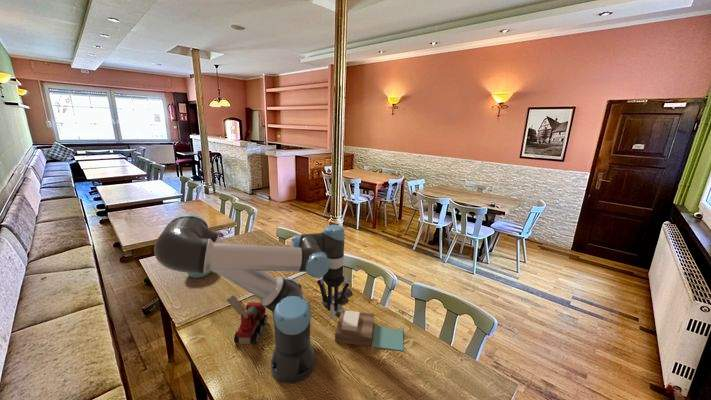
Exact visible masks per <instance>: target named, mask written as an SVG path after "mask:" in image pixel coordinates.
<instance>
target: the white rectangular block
mask: <svg viewBox="0 0 711 400" xmlns="http://www.w3.org/2000/svg"><path fill="white" fill-rule="evenodd" d="M344 311H345V314H344V318H343V322H342V328H341V329H344V330H351V331H357V327H358V322H359V316H360V312H359V311H353V310H344Z"/></svg>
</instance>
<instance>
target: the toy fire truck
mask: <svg viewBox="0 0 711 400" xmlns="http://www.w3.org/2000/svg"><path fill="white" fill-rule="evenodd" d="M226 302H228V303H229V305H230V306H231V308H232V309H233V310H234V311H235V313H236V314H237V315H238V316H240V325H239V328H238V329H237V331H235V334H234V337H233V342H234V344H240V345H252V344H256V345H257V344H258V343H259V341H260V336H262V334H263V331H264V326H266V325H268V324H267V323H268V315H267V314H266V313H267V312H266V311H267V308H266V307H264V306H263V305H262V304H261V302H257V301H256V302H252V301H250V302H247V304H246V306H245V307H244V306H243V304H242V303H241V302H240V301H239V299H238V298H237V297H236V296H235V294H232V295H230V296H228V297H227V298H226Z"/></svg>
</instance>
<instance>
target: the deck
mask: <svg viewBox="0 0 711 400" xmlns="http://www.w3.org/2000/svg"><path fill="white" fill-rule="evenodd" d="M344 314H345V310H342V311H341V314H340V315H339V319H338V322H337V325H336V329H335V332H334V342H335V343H341V344H343V343H344V344H348V345H349V344H350V345H357V346H364V347H370V348H371V347H372V339H373V330H374V325H375V321H374V320H375V314H374V313H367V312H360V316H359V322H358V327H357V331H351V330H344V329H341V328H342V322H343V318H344Z"/></svg>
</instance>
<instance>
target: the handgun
mask: <svg viewBox="0 0 711 400" xmlns="http://www.w3.org/2000/svg"><path fill="white" fill-rule="evenodd" d="M341 294H342V290H341V291H338V299H340V297H341ZM352 294H353V291H352V290H351V288H349V287H348V288H347V289H346V291H345V294H344V298H343V301H342V304H343V303H345V302H347V301H348V297H349V296H350V295H352ZM332 301H334V293H332ZM321 304H322V305H323V307H324V308H328V303H324V302H323V298H322V300H321ZM342 304H338V310H337V312H336V311H335V317H338V316H340V315H341V311H342V310H344V311H345V308H344V307H343V306H342Z"/></svg>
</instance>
